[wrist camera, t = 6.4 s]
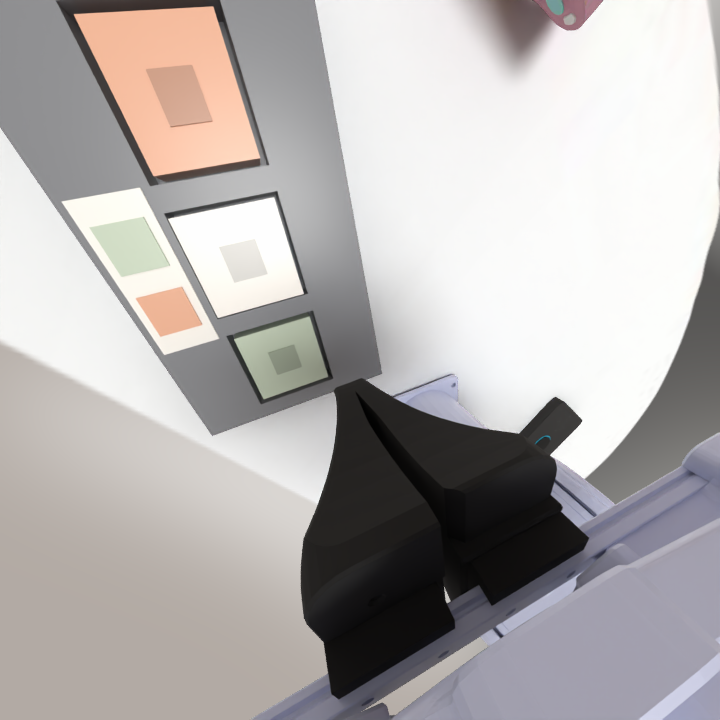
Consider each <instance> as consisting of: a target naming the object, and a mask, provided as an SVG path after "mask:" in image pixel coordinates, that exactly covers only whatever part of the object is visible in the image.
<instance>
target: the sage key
mask: <svg viewBox="0 0 720 720" xmlns="http://www.w3.org/2000/svg"><path fill="white" fill-rule="evenodd" d="M234 341H235V343H236V345H237V347H238V349H239V351H240V353H241V355H242V357H243V359H244V361H245V363H246V365H247V367H248V369H249V371H250V373H251V375H252V377H253V379H254V381H255V383H256V385H257V387H258V389H259V391H260V393H261V395H262V397H263V399H266V398H269V397H272V396H275V395H278V394H281V393H283V392H286V391H289V390H292V389H295V388H298V387H300V386H303V385H306V384H309V383H312V382H315V381H317V380H320V379H323V378H326V377H328V374H327V371H326V368H325V365H324V361H323V358H322V355H321V352H320V348H319V345H318V342H317V339H316V336H315V332H314V329H313V326H312V323H311V319H310V316H309V315H308V313H307V312H306V313H302V314H299V315H296V316H292V317H289V318H286V319H282V320H279V321H275V322H272V323H269V324H265V325H262V326H259V327H255V328H252V329H248V330H245V331H242V332H238V333H235V337H234Z"/></svg>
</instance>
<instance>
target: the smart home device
mask: <svg viewBox="0 0 720 720" xmlns="http://www.w3.org/2000/svg"><path fill="white" fill-rule="evenodd" d="M581 422H582V419H581V418H580V417H579V416H578V415H577V414H576V413H575V412H574V411H573V410H572V409H571V408H570V407H569V406H568V405H567V404H566V403H565V402H564V401H562V400H560V399H558V398H557V397H555V398H553V399H552V400H550V401H549V402H548V403H547V404H546V406H545V407H544V408H543V409H542V410H541V411H540V412H539V413H538V414H537V415H536V416H535V417H534V418H533V419H532V421H531V422H530V423H529V424H528V425H527V426H526V427H525V428H524V429H523V430H522V431H521V432H520V433H519V434H522V435H523V436H525V437H526V438H528V439H529V440H531V441H532V442H534V443H535V444H536V445H537V446H539V447H540V448H541V449H542V450H544V451H545V452H546V453H547V454H548V455H550V454H551V453H552V452H553V451H554V450H555V449H556V448H557V447H558V446H559V445H560V444H561V443H562V442H563V441H564V440H565V439H566V438H567V437H568V436H569V435H570V434H571V433H572V432H573V431H574V430H575V429H576V428H577V427H578V426H579V425H580V424H581Z"/></svg>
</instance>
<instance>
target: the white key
mask: <svg viewBox="0 0 720 720" xmlns="http://www.w3.org/2000/svg"><path fill="white" fill-rule="evenodd" d="M168 220H169V222H170V224H171V226H172V228H173V230H174V232H175V234H176V236H177V238H178V240H179V242H180V244H181V246H182V248H183V250H184V252H185V254H186V256H187V258H188V260H189V262H190V264H191V266H192V267H193V269H194V271H195V273H196V275H197V277H198V279H199V281H200V283H201V285H202V287H203V289H204V291H205V293H206V295H207V297H208V299H209V301H210V303H211V305H212V307H213V309H214V311H215V313H216V315H217V317H218V318H220V317H224V316H227V315H231V314H234V313H238V312H241V311H245V310H248V309H252V308H255V307H259V306H263V305H266V304H270V303H273V302H277V301H280V300H284V299H287V298H291V297H294V296H298V295H302V294H304V293H303V289H302V286H301V283H300V280H299V277H298V273H297V270H296V267H295V264H294V260H293V257H292V254H291V251H290V247H289V244H288V241H287V238H286V234H285V231H284V228H283V225H282V221H281V218H280V215H279V212H278V208H277V205H276V202H275V199H274V197H273V198H268V199H263V200H258V201H253V202H248V203H244V204H239V205H234V206H229V207H224V208H219V209H214V210H209V211H204V212H199V213H194V214H189V215H184V216H179V217H174V218H170V219H168Z"/></svg>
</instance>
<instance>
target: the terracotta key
mask: <svg viewBox="0 0 720 720" xmlns="http://www.w3.org/2000/svg"><path fill="white" fill-rule="evenodd" d="M74 16H75V18H76V20H77V22H78V24H79V26H80V28H81V30H82V32H83V34H84V36H85V38H86V40H87V42H88V44H89V47H90V49H91V51H92V53H93V55H94V57H95V59H96V61H97V63H98V65H99V67H100V69H101V71H102V73H103V75H104V77H105V79H106V81H107V83H108V85H109V87H110V89H111V91H112V93H113V95H114V97H115V99H116V101H117V103H118V105H119V107H120V109H121V111H122V113H123V115H124V117H125V119H126V122H127V124H128V126H129V128H130V130H131V132H132V134H133V136H134V138H135V140H136V142H137V144H138V146H139V148H140V150H141V152H142V154H143V156H144V158H145V160H146V162H147V164H148V166H149V168H150V170H151V172H152V174H153V176H154V177H156V178H158V179H160V180H162V181H164V182H168V181H174V180H179V179H185V178H191V177H196V176H202V175H208V174H213V173H219V172H225V171H230V170H236V169H242V168H247V167H253V166H259V165H260V155H259V152H258V149H257V146H256V142H255V139H254V136H253V133H252V130H251V126H250V123H249V120H248V117H247V114H246V110H245V107H244V104H243V101H242V97H241V94H240V91H239V88H238V85H237V81H236V78H235V75H234V72H233V68H232V65H231V62H230V59H229V56H228V52H227V49H226V46H225V43H224V40H223V36H222V33H221V30H220V27H219V23H218V20H217V17H216V14H215V11H214V7H213V6H212V7H194V8H176V9H158V10H140V11H123V12H105V13H87V14H74Z"/></svg>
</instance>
